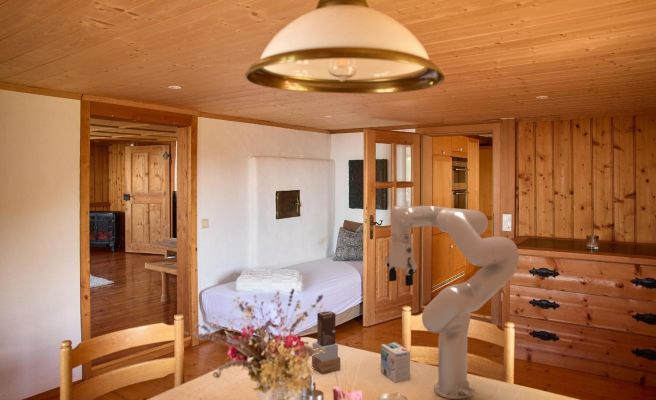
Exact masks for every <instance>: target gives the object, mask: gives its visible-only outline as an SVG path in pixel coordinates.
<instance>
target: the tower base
mask: <svg viewBox="0 0 656 400" xmlns="http://www.w3.org/2000/svg"><path fill="white" fill-rule="evenodd" d="M312 367H313V368H314V369H313V368H312ZM311 368H312V369H313V370H315V371H316V372H318V373H320V374H321V375H322V376H323V375H326V374H330V373H331V374H332V373H335V372H339V371H341V357H340V356H338V357H337V358H334V359H330V360H326V361H321V360H319V359H318V358H316V357H314V356H312V355H311Z"/></svg>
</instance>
